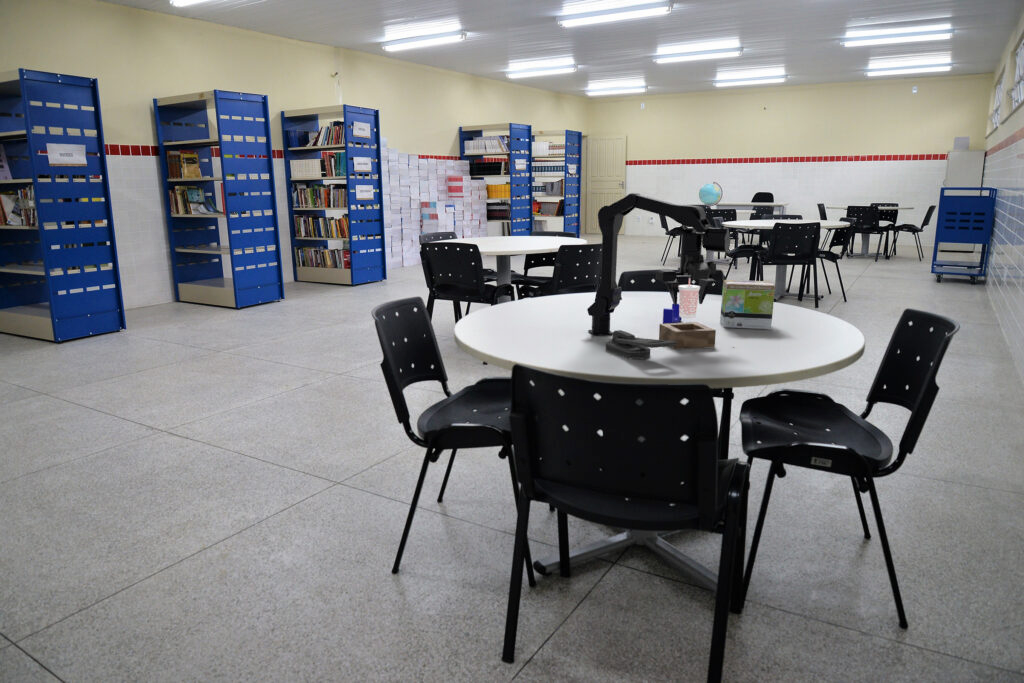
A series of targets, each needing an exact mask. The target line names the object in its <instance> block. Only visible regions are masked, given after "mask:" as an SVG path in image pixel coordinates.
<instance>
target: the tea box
mask: <svg viewBox="0 0 1024 683" xmlns="http://www.w3.org/2000/svg"><path fill="white" fill-rule="evenodd" d="M722 281H723V283H722V292H721V306H720V317H719V319H720V320H719V322H720V323H721V325H722V328H724V329H725V328H739V329H751V330H754V329H755V330H756V329H757V330H758V329H759V330H767V331H768V330H769V331H770V330H771V329H772V323H773V322H772V321H773V314H774V313H773V312H774V304H775V303H774V301H775V292H776V291H775V290H776V285H775V284H773V283H772V282H771V281H769V280H768V281H767V280H739V279H738V280H737V279H723V280H722Z"/></svg>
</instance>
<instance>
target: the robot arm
mask: <svg viewBox="0 0 1024 683" xmlns="http://www.w3.org/2000/svg"><path fill="white" fill-rule="evenodd" d="M635 209H639V210H643V211H646V212H649V213H654V214H657V215H660V216H664V217H667V218H670V219H672V220H673V221H675V222H676V223H678V224H680V226H679V228H678V229H676V230H675V231H674V232H673V233H674V235H681V241H680V242H681V243H680V244H681V245H680V253H678V257H679V259H680V262H679V267H677V271H675V270H671V269H657V271H656V273H655V280H657V281H659V282H660V281H661V282H662V283H665V286H666V289H667V290H668V292H669V294H670V297H671V301H672V302H673V303H674V305H677V304H678V288H679V287H678V286H679V285H680V282H679V281H678V279H689V278H691V279H692V280H696V281H698V286H700V290H699V294H698V304H699V305H702V304H703V302H704V300H705V298H706V295H707V293H708V291H709V289H710V288H711V287H712V286H713V285H714V284H717V283H718V281H724V280H725V279H724V276H725V274H724V271H723V270H722V269H720V268H719V269H718V268H717V263H716V262H715V261H714V260H713V261H711V260H710V261H707V262H705V260H704V255H703V254H702V250H703V249H705V251H706V252H711V253H712V252H713V253H728V252H729V250H730V248H731V247H730V246H731V240H732V239H731V237H730V236H731V235H730V228H729V227H713V226H712V225H711V223H710V222H709V220H708V219H707V214H706V211H705V209H704V208H703V207H702V206H701V205H691V204H676V203H672V202H668V201H665V200H661V199H657V198H653V197H649V196H645V195H642V194H640V193H638V192H631V193H628V194H627V195H625V196H624V197H623V198H621V199H619V200H617V201H614V202H613V203H612V204H610V205H604V206H602V207H601V208H600V209H599V210H598V212H597V221H598V228H599V230H600V233H601V236H602V238H601V261H600V262H601V263H600V265H601V266H600V282H599V285H598V287H597V289H596V292H595V298H594V301H593V303H592V304H591V305H590V306H589V307H587V309H586V310H587V314H588V316H590V317H591V329H588V330H587V331H588V333H590V334H591V335H593V336H607V335H608V336H611V335H613V332H614V331H611V314H613V313H614V311H615V309H616V308H617V307H618V306H620V302H621V301H622V300H623V298H622V292H623V287H622V286H619V285H618V283H617V263H618V262H617V260H618V256H617V255H618V237H619V233H620V231H621V228H622V225H623V221H624V218H625V216H627V215H629V213H631V212H632V211H633V210H635ZM702 248H703V249H702ZM673 303H672V304H673Z"/></svg>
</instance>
